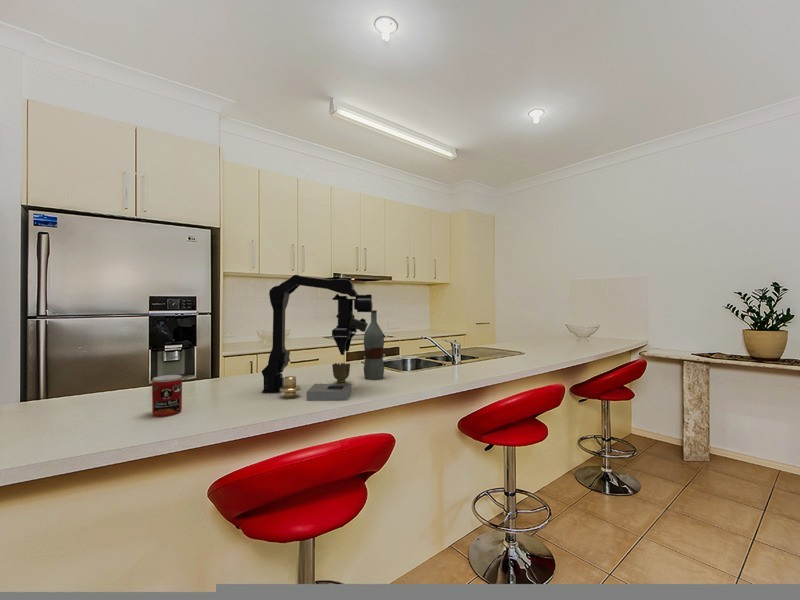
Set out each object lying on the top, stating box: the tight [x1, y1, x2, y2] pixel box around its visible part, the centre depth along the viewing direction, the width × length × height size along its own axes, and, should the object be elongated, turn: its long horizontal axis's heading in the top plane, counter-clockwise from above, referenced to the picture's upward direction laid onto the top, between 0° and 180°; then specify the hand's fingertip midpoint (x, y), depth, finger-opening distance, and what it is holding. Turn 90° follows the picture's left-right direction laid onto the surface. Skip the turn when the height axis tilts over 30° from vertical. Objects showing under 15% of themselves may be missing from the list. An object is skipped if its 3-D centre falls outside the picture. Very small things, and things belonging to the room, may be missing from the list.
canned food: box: [151, 374, 183, 418], centre depth 114 cm, size 8×8×11 cm
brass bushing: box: [280, 375, 302, 399], centre depth 133 cm, size 7×7×7 cm
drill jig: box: [306, 383, 353, 401], centre depth 134 cm, size 14×12×3 cm
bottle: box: [363, 309, 385, 381], centre depth 165 cm, size 9×9×30 cm
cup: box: [331, 362, 351, 384], centre depth 155 cm, size 8×7×8 cm
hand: (344, 353), depth 142 cm, fingers open, 9 cm apart
